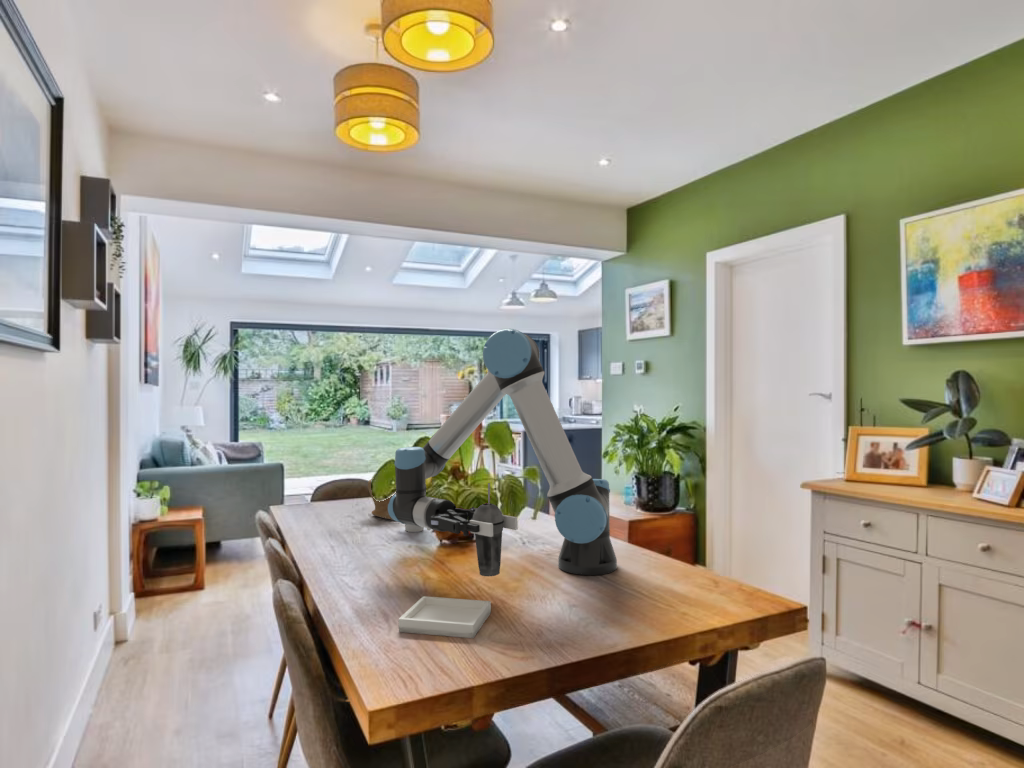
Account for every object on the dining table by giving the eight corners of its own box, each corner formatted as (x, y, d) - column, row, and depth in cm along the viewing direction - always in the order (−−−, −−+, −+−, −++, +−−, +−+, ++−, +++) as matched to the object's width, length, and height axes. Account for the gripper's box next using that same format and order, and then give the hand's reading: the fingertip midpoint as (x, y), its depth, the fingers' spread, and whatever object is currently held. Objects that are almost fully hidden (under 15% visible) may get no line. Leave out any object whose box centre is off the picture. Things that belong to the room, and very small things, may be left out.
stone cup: (362, 516, 225) (362, 475, 225) (392, 512, 232) (392, 472, 232) (380, 523, 213) (380, 480, 213) (411, 519, 220) (411, 477, 220)
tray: (490, 613, 128) (490, 601, 128) (473, 638, 116) (473, 625, 116) (423, 607, 132) (422, 596, 132) (398, 631, 119) (398, 618, 119)
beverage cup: (467, 576, 135) (464, 486, 135) (481, 567, 142) (479, 480, 142) (498, 579, 132) (495, 487, 132) (510, 569, 139) (508, 481, 139)
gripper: (466, 522, 157) (534, 535, 141) (403, 537, 142) (471, 554, 127) (465, 492, 157) (533, 502, 141) (402, 505, 142) (470, 517, 127)
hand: (504, 526), depth 134 cm, fingers closed on beverage cup, 7 cm apart
